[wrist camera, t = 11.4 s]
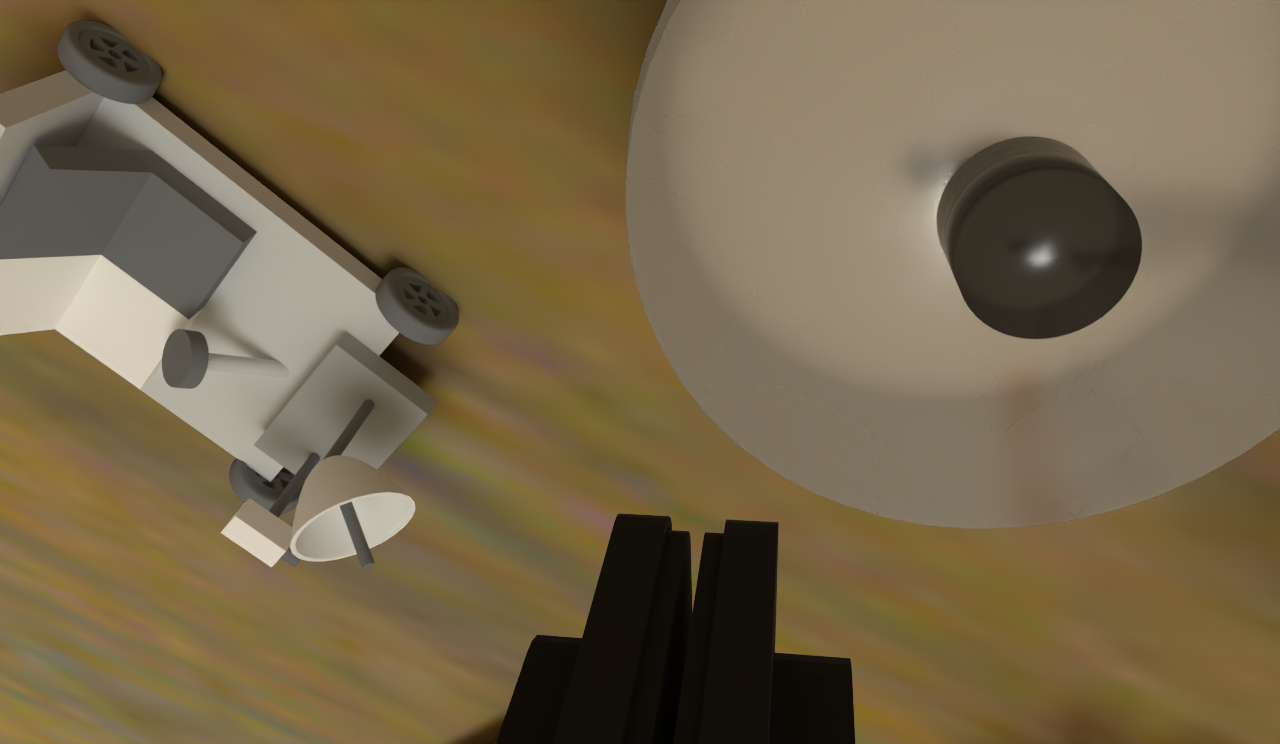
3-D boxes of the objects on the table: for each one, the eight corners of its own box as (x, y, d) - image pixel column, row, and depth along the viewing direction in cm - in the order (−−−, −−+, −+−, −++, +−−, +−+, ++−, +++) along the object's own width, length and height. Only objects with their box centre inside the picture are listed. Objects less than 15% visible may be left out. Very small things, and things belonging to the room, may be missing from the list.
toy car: (448, 510, 29) (255, 699, 34) (525, 351, 37) (361, 521, 42) (-133, 81, 24) (-255, 371, 30) (103, 11, 33) (-23, 246, 38)
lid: (1632, -279, 16) (1838, -300, 13) (1342, 507, 24) (1428, 611, 21) (610, -222, 18) (579, -228, 15) (646, 491, 26) (632, 584, 23)
